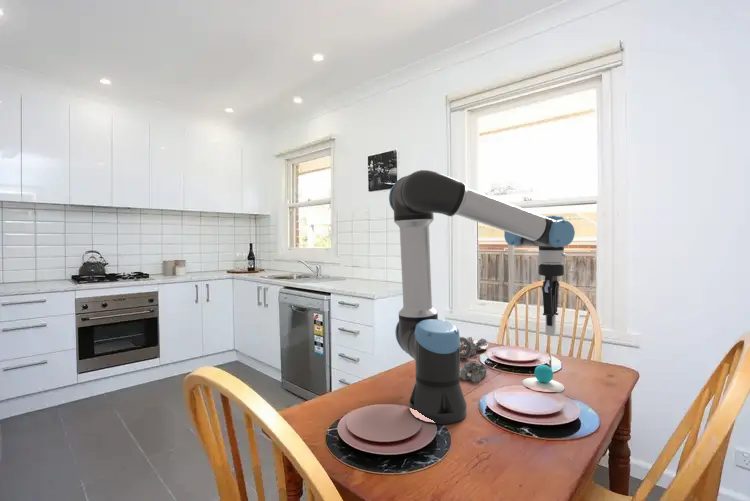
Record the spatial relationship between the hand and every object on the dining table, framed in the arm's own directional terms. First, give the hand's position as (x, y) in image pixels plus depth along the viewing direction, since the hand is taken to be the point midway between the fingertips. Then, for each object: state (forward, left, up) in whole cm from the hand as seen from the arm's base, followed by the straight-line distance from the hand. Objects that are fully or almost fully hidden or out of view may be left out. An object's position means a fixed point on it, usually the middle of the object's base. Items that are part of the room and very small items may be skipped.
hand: (550, 334), depth 126 cm
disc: (-9, 0, -14) cm, 17 cm away
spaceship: (+2, +32, -14) cm, 35 cm away
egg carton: (-14, +21, -14) cm, 29 cm away
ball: (-6, 0, -11) cm, 13 cm away
